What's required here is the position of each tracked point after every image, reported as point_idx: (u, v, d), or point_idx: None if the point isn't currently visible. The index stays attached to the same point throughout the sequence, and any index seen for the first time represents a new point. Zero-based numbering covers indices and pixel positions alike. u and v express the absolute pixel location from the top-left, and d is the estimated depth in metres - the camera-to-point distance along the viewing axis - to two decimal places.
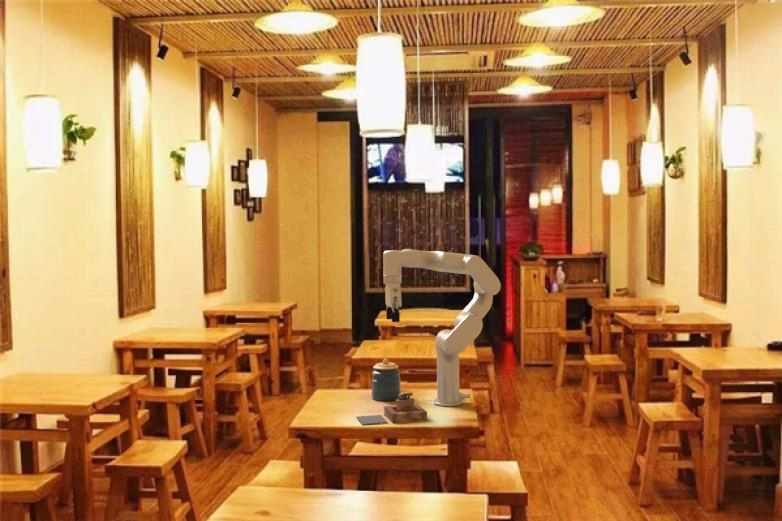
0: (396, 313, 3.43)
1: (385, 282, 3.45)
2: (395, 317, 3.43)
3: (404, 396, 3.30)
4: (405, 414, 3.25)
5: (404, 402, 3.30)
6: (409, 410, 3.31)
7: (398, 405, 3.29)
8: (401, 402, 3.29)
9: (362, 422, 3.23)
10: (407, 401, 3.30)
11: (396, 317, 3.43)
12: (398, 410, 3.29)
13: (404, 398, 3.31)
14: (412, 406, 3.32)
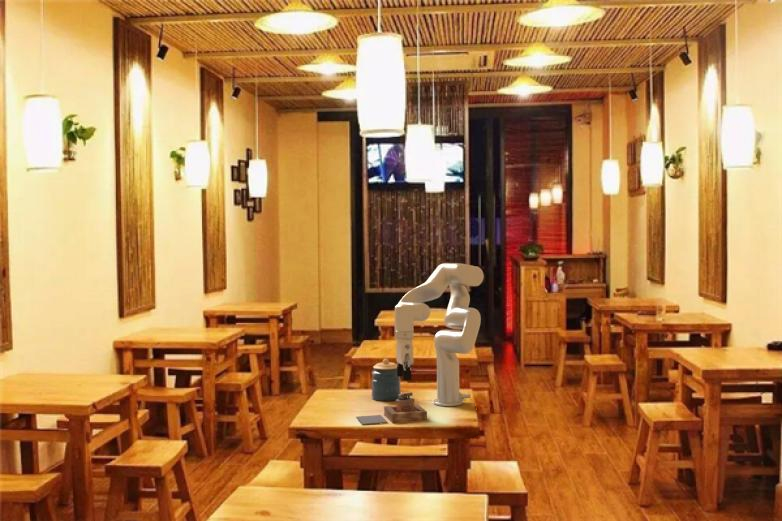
0: (408, 371, 3.25)
1: (396, 338, 3.28)
2: (406, 375, 3.25)
3: (404, 396, 3.30)
4: (405, 414, 3.25)
5: (404, 402, 3.30)
6: (409, 410, 3.31)
7: (398, 405, 3.29)
8: (401, 402, 3.29)
9: (362, 422, 3.23)
10: (407, 401, 3.30)
11: (407, 375, 3.25)
12: (398, 410, 3.29)
13: (404, 398, 3.31)
14: (412, 406, 3.32)
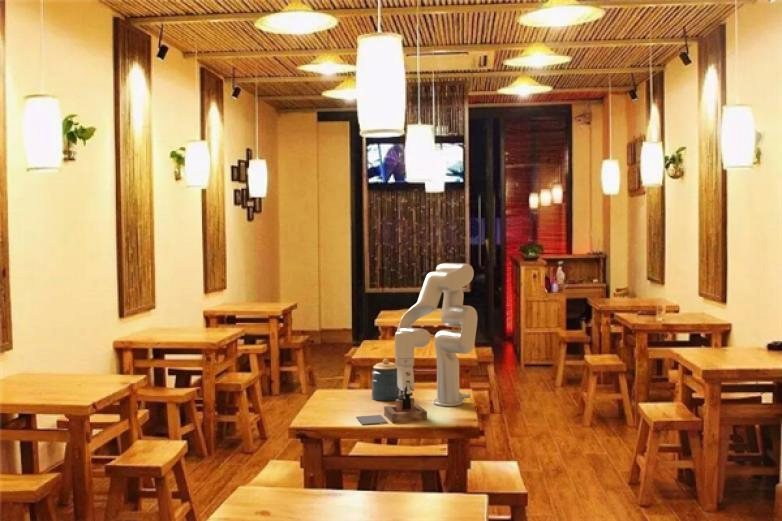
0: (407, 400, 3.28)
1: (397, 365, 3.29)
2: (406, 404, 3.28)
3: None
4: (405, 414, 3.25)
5: None
6: (409, 410, 3.31)
7: (398, 405, 3.29)
8: (401, 402, 3.29)
9: (362, 422, 3.23)
10: None
11: (407, 404, 3.28)
12: (398, 410, 3.29)
13: None
14: (412, 406, 3.32)
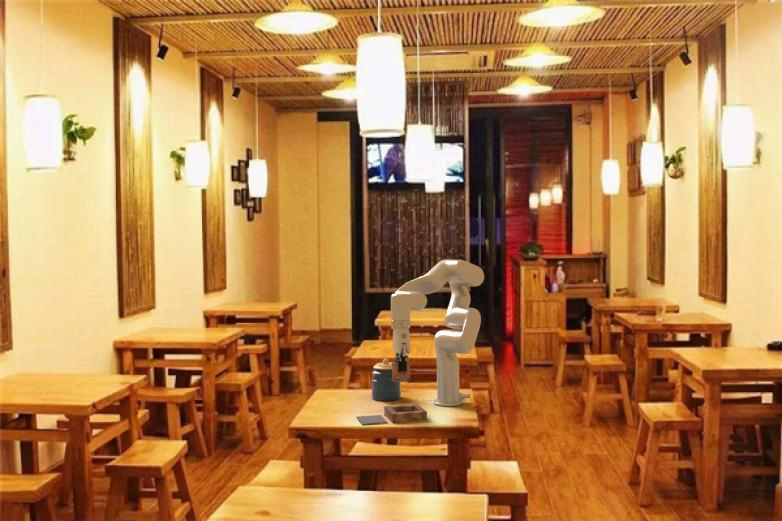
0: (403, 362, 3.27)
1: (393, 327, 3.27)
2: (402, 366, 3.27)
3: None
4: (405, 414, 3.25)
5: None
6: (405, 373, 3.30)
7: (394, 368, 3.28)
8: (397, 365, 3.28)
9: (362, 422, 3.23)
10: None
11: (403, 366, 3.27)
12: (394, 373, 3.28)
13: None
14: (408, 369, 3.31)
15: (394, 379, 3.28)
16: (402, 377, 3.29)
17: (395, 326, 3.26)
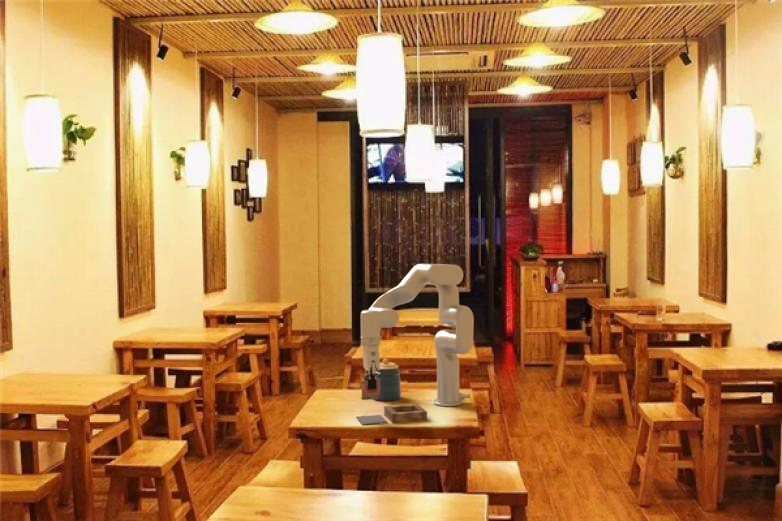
0: (372, 380, 3.24)
1: (362, 344, 3.24)
2: (371, 384, 3.24)
3: None
4: (405, 414, 3.25)
5: None
6: (375, 390, 3.26)
7: (363, 385, 3.25)
8: (366, 382, 3.25)
9: (362, 422, 3.23)
10: None
11: (372, 384, 3.24)
12: (363, 390, 3.25)
13: None
14: (378, 386, 3.27)
15: (363, 397, 3.25)
16: (372, 395, 3.26)
17: (364, 343, 3.23)
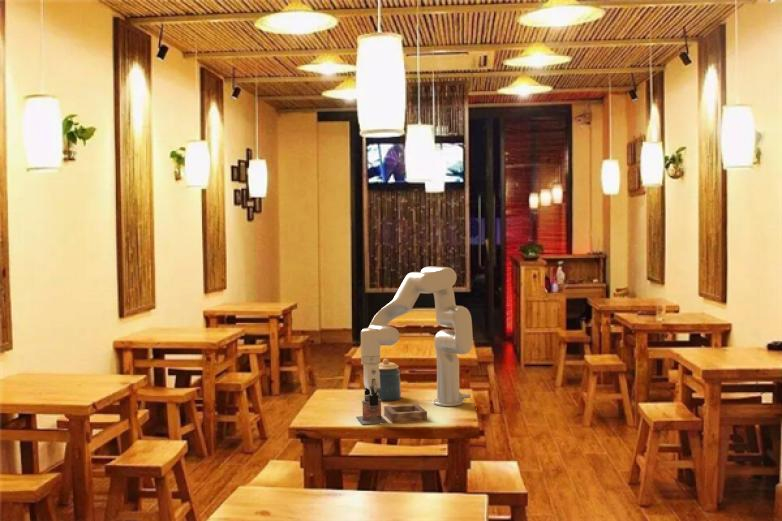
0: (374, 396, 3.21)
1: (363, 363, 3.24)
2: (373, 401, 3.21)
3: None
4: (405, 414, 3.25)
5: None
6: (375, 411, 3.27)
7: (364, 406, 3.25)
8: (367, 403, 3.25)
9: (362, 422, 3.23)
10: None
11: (374, 401, 3.22)
12: (364, 411, 3.25)
13: None
14: (379, 407, 3.28)
15: (364, 418, 3.25)
16: (372, 416, 3.26)
17: (365, 362, 3.23)
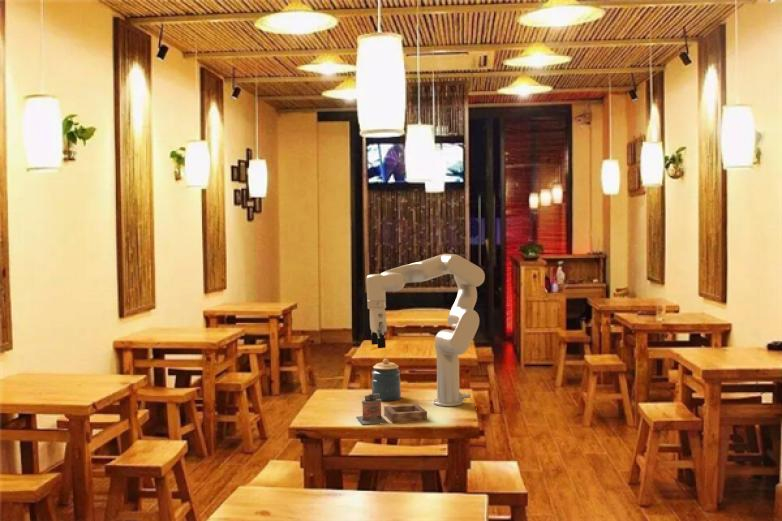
0: (382, 339, 3.34)
1: (369, 307, 3.37)
2: (381, 343, 3.34)
3: (370, 397, 3.26)
4: (405, 414, 3.25)
5: (370, 403, 3.26)
6: (375, 411, 3.27)
7: (364, 406, 3.25)
8: (367, 403, 3.25)
9: (362, 422, 3.23)
10: (373, 402, 3.26)
11: (382, 343, 3.34)
12: (364, 411, 3.25)
13: (370, 399, 3.26)
14: (379, 407, 3.28)
15: (364, 418, 3.25)
16: (372, 416, 3.26)
17: (371, 306, 3.36)
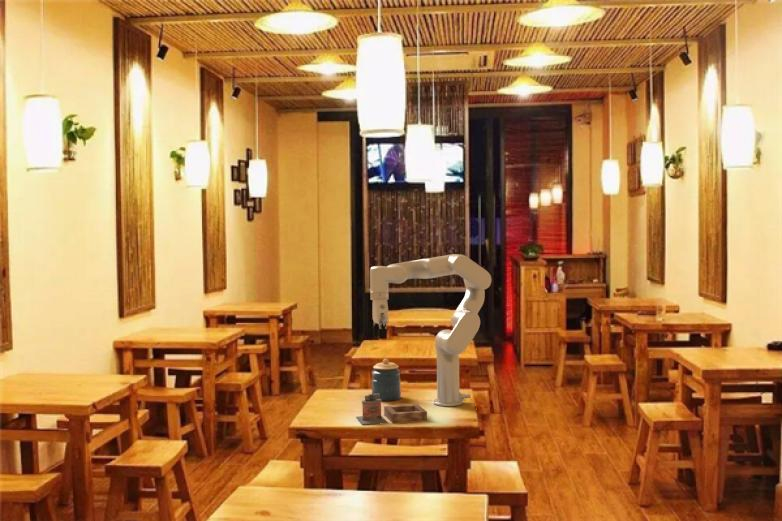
0: (383, 330, 3.40)
1: (372, 298, 3.42)
2: (382, 334, 3.40)
3: (370, 397, 3.26)
4: (405, 414, 3.25)
5: (370, 403, 3.26)
6: (375, 411, 3.27)
7: (364, 406, 3.25)
8: (367, 403, 3.25)
9: (362, 422, 3.23)
10: (373, 402, 3.26)
11: (383, 334, 3.40)
12: (364, 411, 3.25)
13: (370, 399, 3.26)
14: (379, 407, 3.28)
15: (364, 418, 3.25)
16: (372, 416, 3.26)
17: (374, 297, 3.41)
